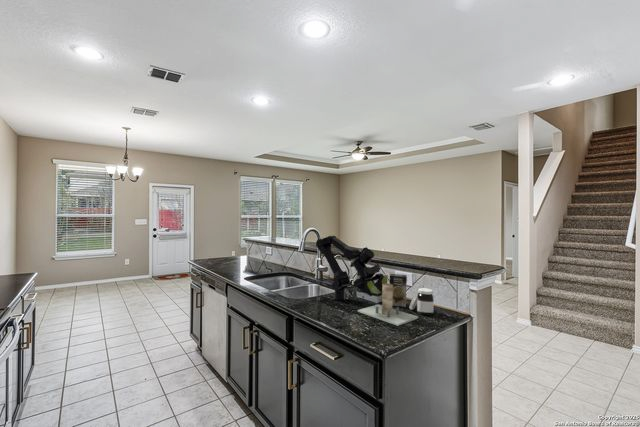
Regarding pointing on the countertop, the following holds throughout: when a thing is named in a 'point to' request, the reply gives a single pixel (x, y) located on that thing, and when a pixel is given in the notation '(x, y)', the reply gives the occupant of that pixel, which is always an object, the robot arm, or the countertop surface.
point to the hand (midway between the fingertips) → (377, 294)
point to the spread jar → (423, 302)
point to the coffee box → (399, 289)
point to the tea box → (372, 291)
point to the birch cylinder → (387, 298)
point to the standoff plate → (388, 315)
